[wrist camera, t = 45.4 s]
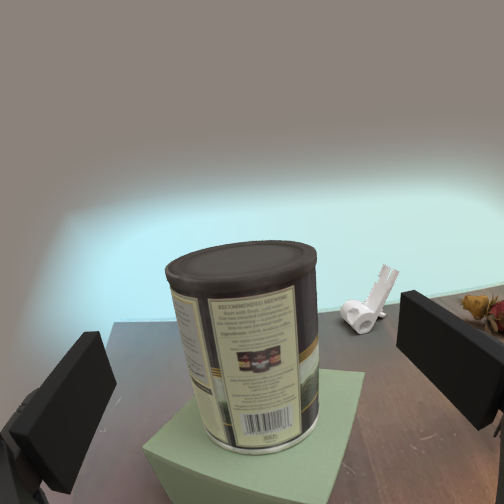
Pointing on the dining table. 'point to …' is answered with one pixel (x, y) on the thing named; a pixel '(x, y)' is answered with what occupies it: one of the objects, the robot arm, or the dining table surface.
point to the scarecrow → (486, 311)
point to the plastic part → (369, 303)
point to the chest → (198, 488)
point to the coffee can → (251, 341)
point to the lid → (274, 464)
